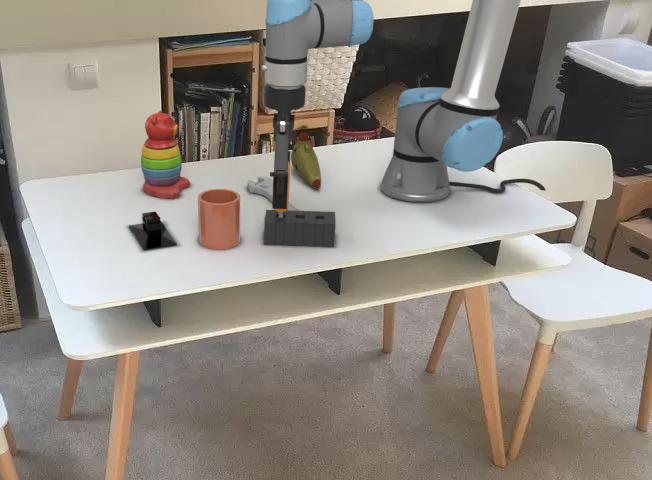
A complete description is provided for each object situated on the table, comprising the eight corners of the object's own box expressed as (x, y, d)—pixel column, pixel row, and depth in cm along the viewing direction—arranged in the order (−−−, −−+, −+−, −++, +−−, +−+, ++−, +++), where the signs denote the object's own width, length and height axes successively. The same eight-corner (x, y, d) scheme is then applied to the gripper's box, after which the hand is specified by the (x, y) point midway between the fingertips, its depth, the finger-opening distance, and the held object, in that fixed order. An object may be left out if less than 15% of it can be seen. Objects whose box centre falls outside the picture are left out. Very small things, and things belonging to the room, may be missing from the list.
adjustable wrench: (308, 223, 162) (308, 215, 161) (279, 227, 160) (280, 219, 159) (268, 182, 182) (268, 175, 181) (242, 185, 180) (242, 178, 179)
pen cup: (241, 233, 158) (241, 189, 152) (237, 250, 151) (238, 205, 146) (202, 231, 158) (201, 188, 153) (196, 248, 151) (195, 203, 146)
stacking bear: (176, 200, 173) (172, 122, 164) (135, 195, 176) (129, 118, 166) (192, 183, 182) (190, 108, 172) (153, 179, 185) (148, 105, 175)
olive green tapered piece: (329, 192, 176) (332, 150, 171) (307, 194, 175) (309, 152, 170) (305, 163, 193) (306, 124, 188) (284, 165, 192) (285, 125, 187)
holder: (333, 234, 156) (335, 211, 154) (333, 247, 151) (335, 223, 149) (265, 232, 158) (266, 209, 155) (263, 244, 153) (264, 221, 150)
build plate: (128, 227, 161) (126, 206, 158) (161, 222, 163) (160, 202, 160) (143, 251, 151) (141, 229, 148) (178, 245, 153) (177, 223, 150)
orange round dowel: (287, 235, 156) (290, 160, 148) (286, 242, 154) (290, 165, 145) (272, 235, 156) (274, 159, 148) (272, 241, 154) (274, 165, 145)
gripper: (268, 68, 150) (265, 172, 161) (260, 102, 129) (257, 219, 140) (306, 69, 149) (301, 173, 160) (304, 103, 128) (298, 220, 139)
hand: (281, 195), depth 150 cm, fingers open, 13 cm apart
